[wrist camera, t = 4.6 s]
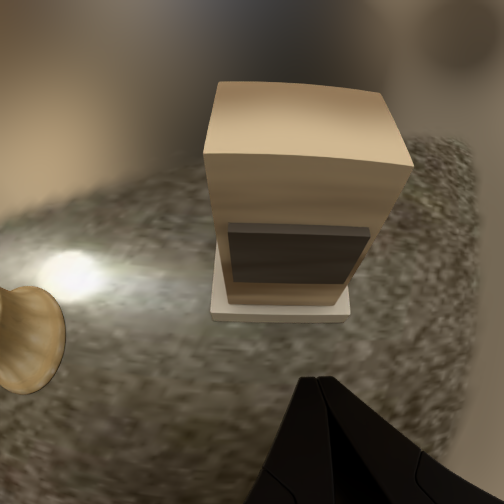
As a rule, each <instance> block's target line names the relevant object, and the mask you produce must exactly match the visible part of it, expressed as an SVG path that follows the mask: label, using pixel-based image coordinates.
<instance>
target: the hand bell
mask: <svg viewBox="0 0 504 504" xmlns="http://www.w3.org/2000/svg"><path fill="white" fill-rule="evenodd" d="M64 347H65V323H64V318H63V315H62V312H61V309H60V307H59V305H58V303H57V302H56V300H55V299H54V297H53V296H52V295H51V294H49V293H48V292H47V291H45V290H43V289H41V288H39V287H34V286H24V287H19V288H16V289H14V290H12V291H8V290H6V289H3V288H1V287H0V385H1V386H2V387H4V388H5V389H7V390H8V391H10V392H12V393H15V394H30V393H33V392H36V391H38V390H39V389H41V388H42V387H44V386H45V385H46V384H47V383H48V382H49V381H50V380H51V378H52V377H53V376H54V374H55V373H56V371H57V369H58V367H59V365H60V362H61V359H62V356H63V352H64Z"/></svg>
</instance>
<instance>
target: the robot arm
mask: <svg viewBox="0 0 504 504" xmlns="http://www.w3.org/2000/svg"><path fill="white" fill-rule="evenodd" d="M243 504H504V501H502V500H500V499H498V498H497V497H495V496H493V495H491V494H489V493H487V492H485V491H484V490H481V489H480V488H478V487H477V486H475V485H473V484H471V483H469V482H468V481H466V480H464V479H463V478H461V477H460V476H458V475H456V474H455V473H453V472H452V471H450V470H449V469H447V468H446V467H444V466H443V465H442V464H440V463H439V462H437V461H436V460H435V459H433V458H432V457H431V456H430V455H428V454H427V453H426V452H424V451H422V452H421V449H420V448H419V447H418V446H417V445H415V444H414V443H413V442H412V441H410V440H409V439H408V438H407V437H405V436H404V435H403V434H402V433H400V432H399V431H398V430H397V429H395V428H394V427H393V426H392V425H391V424H389V423H388V422H387V421H386V420H384V419H383V418H382V417H381V416H380V415H378V414H377V413H376V412H375V411H373V410H372V409H371V408H370V407H369V406H367V405H366V404H365V403H364V402H363V401H361V400H360V399H359V398H358V397H357V396H356V395H354V394H353V393H352V392H351V391H350V390H348V389H347V388H346V387H345V386H344V385H343V384H341V383H340V382H339V381H338V380H337V379H336V378H334V377H333V376H319V377H317V378H315V377H300V378H299V380H298V382H297V385H296V387H295V390H294V393H293V395H292V398H291V400H290V403H289V405H288V408H287V410H286V413H285V415H284V418H283V420H282V423H281V425H280V427H279V430H278V432H277V435H276V437H275V439H274V442H273V444H272V446H271V448H270V451H269V453H268V455H267V457H266V460H265V462H264V464H263V466H262V469H261V470H260V472H259V474H258V477H257V479H256V481H255V483H254V485H253V487H252V489H251V490H250V492H249V494H248V496H247V498H246V499H245V501H244V502H243Z"/></svg>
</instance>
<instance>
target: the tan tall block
mask: <svg viewBox="0 0 504 504" xmlns="http://www.w3.org/2000/svg"><path fill="white" fill-rule="evenodd" d="M203 156H204V163H205V169H206V176H207V182H208V188H209V195H210V201H211V207H212V213H213V219H214V225H215V231H216V237H217V243H218V249H219V255H220V260H221V266H222V272H223V277H224V283H225V288H226V294H227V299H228V304H251V305H316V306H330V305H335V304H336V302H337V300H338V299H339V297H340V296H341V294H342V293H343V291H344V290H345V288H346V286H347V285H348V283H349V282H350V280H351V278H352V277H353V275H354V274H355V272H356V270H357V269H358V267H359V265H360V264H361V262H362V260H363V259H364V257H365V255H366V254H367V252H368V250H369V249H370V247H371V245H372V244H373V242H374V240H375V238H376V237H377V235H378V233H379V231H380V230H381V228H382V226H383V224H384V223H385V221H386V219H387V217H388V215H389V214H390V212H391V210H392V208H393V206H394V204H395V203H396V201H397V199H398V197H399V195H400V193H401V191H402V189H403V187H404V185H405V184H406V182H407V180H408V178H409V176H410V174H411V172H412V170H413V168H414V165H413V162H412V160H411V157H410V155H409V153H408V150H407V148H406V146H405V143H404V141H403V139H402V137H401V134H400V132H399V130H398V128H397V126H396V124H395V121H394V119H393V117H392V115H391V113H390V111H389V109H388V107H387V105H386V103H385V101H384V99H383V97H382V95H381V94H380V93H375V92H369V91H362V90H355V89H347V88H339V87H330V86H321V85H309V84H296V83H295V84H294V83H278V82H219V83H218V88H217V91H216V96H215V100H214V105H213V109H212V114H211V118H210V123H209V127H208V132H207V137H206V142H205V147H204V152H203Z"/></svg>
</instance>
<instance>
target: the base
mask: <svg viewBox="0 0 504 504" xmlns="http://www.w3.org/2000/svg"><path fill="white" fill-rule="evenodd" d="M210 313H211V316H212V319H213V321H231V322H264V323H344V322H345V321H346V319H347V318H348V317H349V316H350V304H349V293H348V285H347V286H346V288H345V290H344V291H343V293H342V294H341V296H340V297H339V299H338V300H337V302H336V304H335V305H330V306H316V305H251V304H228V299H227V294H226V288H225V283H224V277H223V272H222V266H221V260H220V255H219V249H218V243H217V245H216V255H215V266H214V276H213V287H212V299H211V311H210Z"/></svg>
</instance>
